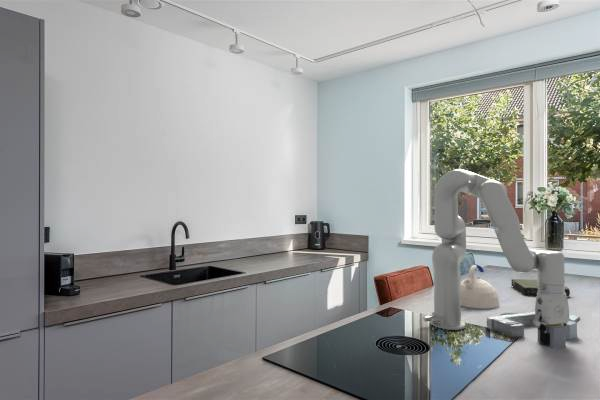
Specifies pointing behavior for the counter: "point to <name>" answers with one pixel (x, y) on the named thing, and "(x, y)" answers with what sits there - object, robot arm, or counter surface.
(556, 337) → the module block
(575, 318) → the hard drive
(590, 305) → the counter surface
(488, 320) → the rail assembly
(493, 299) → the kettle
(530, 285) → the network switch
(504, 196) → the robot arm
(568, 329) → the block
